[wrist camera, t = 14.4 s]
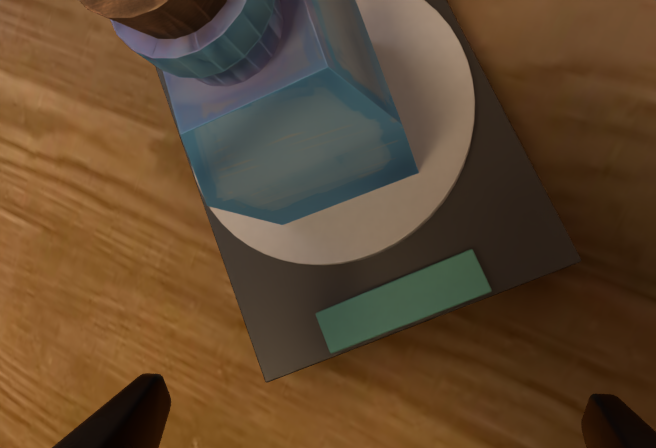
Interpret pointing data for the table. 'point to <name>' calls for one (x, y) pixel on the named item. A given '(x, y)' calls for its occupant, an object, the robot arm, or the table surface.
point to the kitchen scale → (400, 212)
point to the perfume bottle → (271, 99)
